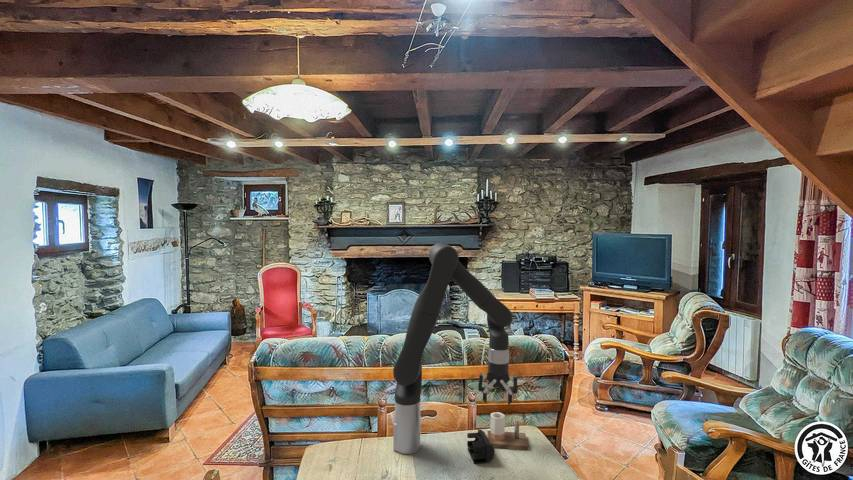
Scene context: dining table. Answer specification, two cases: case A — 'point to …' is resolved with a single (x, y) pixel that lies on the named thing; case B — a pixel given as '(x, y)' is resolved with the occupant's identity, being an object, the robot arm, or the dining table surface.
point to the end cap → (480, 447)
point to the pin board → (511, 440)
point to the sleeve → (497, 426)
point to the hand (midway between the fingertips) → (497, 402)
